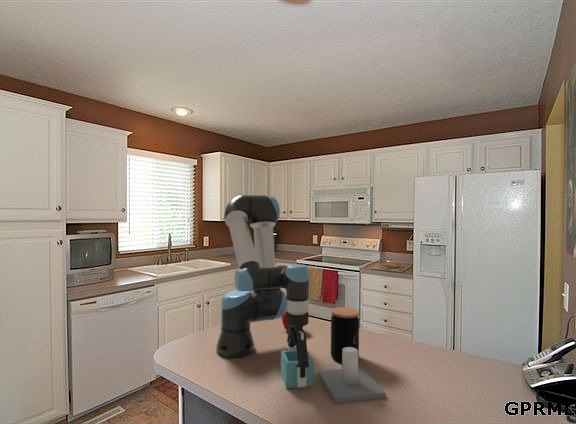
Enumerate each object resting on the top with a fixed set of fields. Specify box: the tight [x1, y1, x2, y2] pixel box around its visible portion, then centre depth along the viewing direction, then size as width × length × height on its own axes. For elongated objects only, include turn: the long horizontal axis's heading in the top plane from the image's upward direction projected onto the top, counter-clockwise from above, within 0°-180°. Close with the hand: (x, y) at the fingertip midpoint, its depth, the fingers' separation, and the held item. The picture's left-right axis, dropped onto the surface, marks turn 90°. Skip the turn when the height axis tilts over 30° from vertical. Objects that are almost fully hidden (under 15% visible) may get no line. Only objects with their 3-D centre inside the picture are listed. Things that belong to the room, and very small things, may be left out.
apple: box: [281, 310, 289, 332], centre depth 147 cm, size 10×10×11 cm
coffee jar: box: [330, 306, 360, 364], centre depth 120 cm, size 11×11×18 cm
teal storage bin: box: [280, 350, 315, 389], centre depth 104 cm, size 9×9×8 cm
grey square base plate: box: [318, 347, 386, 404], centre depth 100 cm, size 16×16×12 cm
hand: (296, 375), depth 103 cm, fingers open, 13 cm apart
